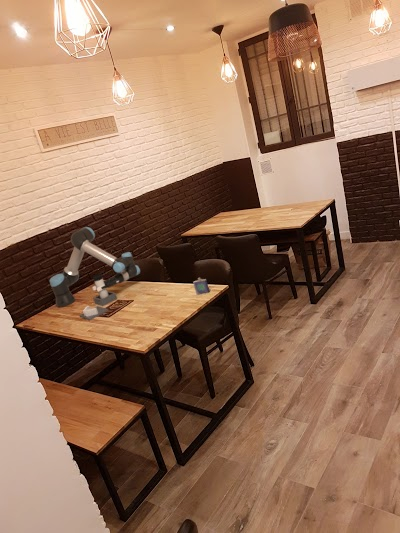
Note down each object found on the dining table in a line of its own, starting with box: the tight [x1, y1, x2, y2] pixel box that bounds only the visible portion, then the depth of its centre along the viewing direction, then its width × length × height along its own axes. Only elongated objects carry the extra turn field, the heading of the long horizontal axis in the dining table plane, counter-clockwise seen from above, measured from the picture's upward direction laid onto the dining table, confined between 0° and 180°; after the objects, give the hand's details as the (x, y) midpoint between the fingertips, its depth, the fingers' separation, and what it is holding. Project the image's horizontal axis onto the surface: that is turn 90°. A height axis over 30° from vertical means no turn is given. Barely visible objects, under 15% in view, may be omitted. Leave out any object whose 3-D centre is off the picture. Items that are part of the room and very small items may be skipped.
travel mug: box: [92, 273, 109, 299], centre depth 299 cm, size 6×7×20 cm
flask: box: [192, 277, 210, 295], centre depth 264 cm, size 9×3×11 cm, turn 76°
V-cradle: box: [79, 305, 109, 322], centre depth 283 cm, size 16×15×5 cm
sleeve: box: [93, 290, 118, 307], centre depth 302 cm, size 12×12×5 cm
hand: (95, 289), depth 296 cm, fingers closed on travel mug, 6 cm apart
